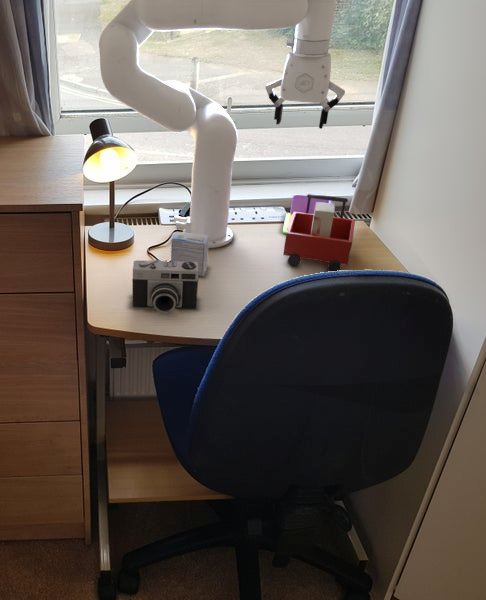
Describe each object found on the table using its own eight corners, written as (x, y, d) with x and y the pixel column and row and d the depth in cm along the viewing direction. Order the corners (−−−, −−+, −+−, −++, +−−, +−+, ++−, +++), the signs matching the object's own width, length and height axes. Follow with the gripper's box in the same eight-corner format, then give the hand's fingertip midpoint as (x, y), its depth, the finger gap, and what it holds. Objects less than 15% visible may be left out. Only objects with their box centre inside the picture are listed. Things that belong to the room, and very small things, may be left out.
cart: (281, 264, 149) (288, 215, 142) (289, 237, 160) (296, 191, 153) (345, 274, 144) (356, 224, 137) (349, 246, 156) (359, 198, 149)
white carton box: (309, 239, 153) (315, 200, 148) (328, 241, 152) (335, 202, 147) (307, 248, 149) (314, 209, 144) (327, 251, 148) (334, 212, 142)
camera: (126, 315, 132) (127, 272, 127) (135, 293, 140) (135, 253, 134) (193, 323, 129) (196, 280, 124) (198, 300, 137) (201, 259, 132)
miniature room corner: (332, 220, 168) (336, 196, 164) (330, 240, 159) (335, 215, 155) (286, 214, 171) (289, 191, 168) (281, 234, 162) (285, 209, 158)
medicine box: (207, 268, 148) (209, 235, 143) (203, 277, 144) (205, 243, 140) (174, 263, 150) (176, 230, 146) (170, 272, 147) (171, 239, 142)
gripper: (267, 48, 137) (259, 126, 146) (351, 52, 132) (337, 133, 141) (273, 41, 143) (264, 116, 152) (353, 45, 138) (339, 123, 147)
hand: (299, 124), depth 147 cm, fingers open, 9 cm apart
